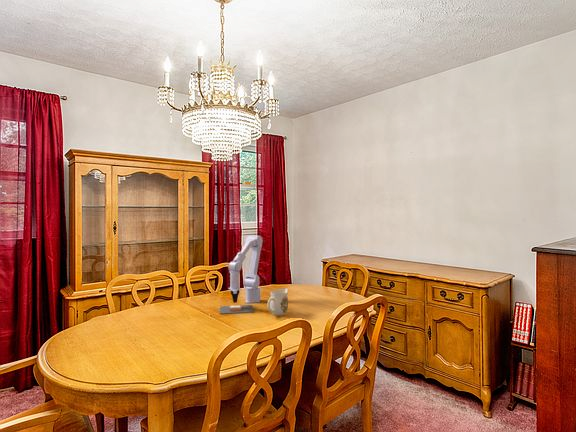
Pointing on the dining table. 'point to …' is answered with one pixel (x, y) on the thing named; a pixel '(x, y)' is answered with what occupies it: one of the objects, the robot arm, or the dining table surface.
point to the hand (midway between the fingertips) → (235, 302)
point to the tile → (235, 308)
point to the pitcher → (278, 302)
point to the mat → (243, 310)
